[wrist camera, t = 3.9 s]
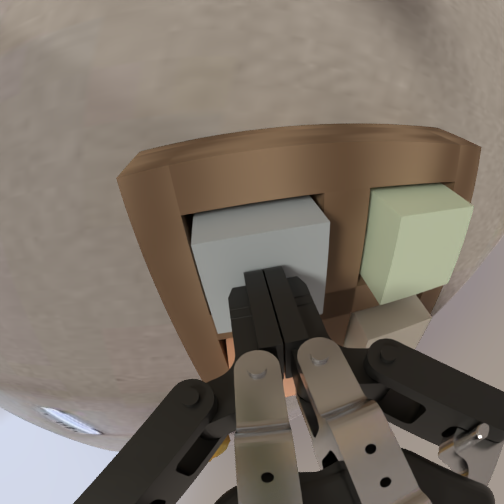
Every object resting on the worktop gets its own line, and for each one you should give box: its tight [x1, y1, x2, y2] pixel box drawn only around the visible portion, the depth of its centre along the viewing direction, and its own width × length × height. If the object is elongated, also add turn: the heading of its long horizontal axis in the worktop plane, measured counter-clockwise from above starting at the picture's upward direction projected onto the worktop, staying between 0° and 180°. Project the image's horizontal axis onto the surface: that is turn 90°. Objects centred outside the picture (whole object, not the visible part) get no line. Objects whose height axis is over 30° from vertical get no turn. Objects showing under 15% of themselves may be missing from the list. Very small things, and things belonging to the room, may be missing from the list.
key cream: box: [343, 294, 432, 350], centre depth 17 cm, size 5×5×3 cm
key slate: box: [191, 195, 330, 334], centre depth 12 cm, size 5×5×3 cm
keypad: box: [116, 124, 481, 383], centre depth 16 cm, size 18×18×4 cm
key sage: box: [359, 182, 474, 305], centre depth 12 cm, size 5×5×3 cm
